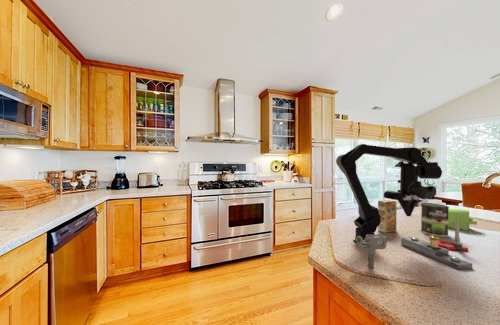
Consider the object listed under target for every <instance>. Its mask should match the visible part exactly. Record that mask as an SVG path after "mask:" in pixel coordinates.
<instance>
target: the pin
mask: <svg viewBox="0 0 500 325" xmlns="http://www.w3.org/2000/svg"><path fill="white" fill-rule="evenodd" d="M428 238H429V243H430V248H432V249H434V250H438V246H439V245H438V241H440V237H439V236H433V235H428Z"/></svg>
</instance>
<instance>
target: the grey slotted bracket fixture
mask: <svg viewBox="0 0 500 325" xmlns="http://www.w3.org/2000/svg"><path fill="white" fill-rule="evenodd" d="M400 241H401V242H400V245H401V244H402V246H404V245H405V246H404V247H406V246H407V247H406V248H408V247H410V248H412V249H411V250H413V249H414V250H413V251H415V250H416V251H415V252H417V253H420V254H422V255H424V256H427V257H429V258H431V259H433V260H435V261H438V262H441V263H443V264H445V265H447V266H449V267H450V268H451V267H452V268H453V269H455V270H456V269H457V270H470V269H473V263H471V262H469V261H466V260H463V259H461V258H460V257H457V256H453V255H451V254H450V253H449V251H450V250H448V249H447V248H445V247H442V246H439V245H438V250H434V249H432V248H430V242H427V241H425V240H422V239H420V238H418V237H415V236H405V237H404V236H403V237H401V240H400ZM410 248H409V249H410Z"/></svg>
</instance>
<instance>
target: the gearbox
mask: <svg viewBox="0 0 500 325" xmlns="http://www.w3.org/2000/svg"><path fill="white" fill-rule="evenodd" d="M455 218H458V223H459V230H461V229H462V230H461V231H469V229H470V225H475V226H476V225H477V223H478V219H476V218H471V217H470V210H466V209H459V208H452V207H451V208H450V207H449V208H448V228H449V227H451V228H450V229H455V223H456V219H455Z"/></svg>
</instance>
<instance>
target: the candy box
mask: <svg viewBox="0 0 500 325" xmlns="http://www.w3.org/2000/svg"><path fill="white" fill-rule="evenodd" d="M397 203H398V200H393V199H385V200H377V209H378V211H379V214H380V216H381V217H382V218H380V219H381V223H380V225H379V226H378V227H377V231H378V232H382V233H385V234H386V233H391V232H397Z"/></svg>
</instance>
